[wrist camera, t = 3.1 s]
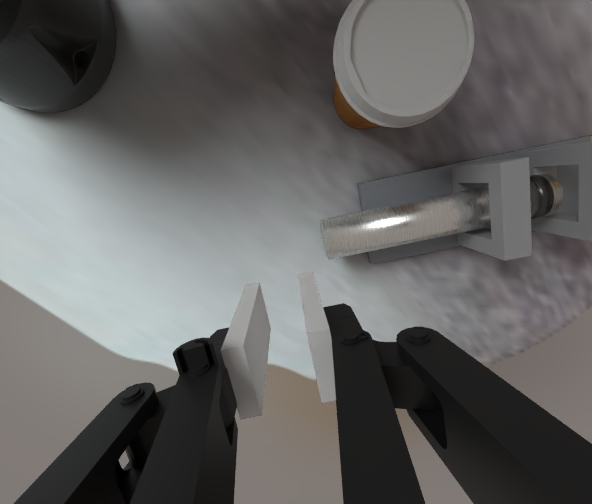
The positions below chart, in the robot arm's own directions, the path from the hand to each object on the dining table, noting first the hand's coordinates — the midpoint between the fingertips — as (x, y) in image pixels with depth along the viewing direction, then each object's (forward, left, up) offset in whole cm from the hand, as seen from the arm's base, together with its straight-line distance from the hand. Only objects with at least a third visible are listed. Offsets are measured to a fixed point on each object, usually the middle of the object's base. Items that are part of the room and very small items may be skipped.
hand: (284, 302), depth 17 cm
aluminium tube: (+15, 0, -16) cm, 22 cm away
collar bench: (+23, 0, -18) cm, 30 cm away
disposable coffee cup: (+11, +13, -19) cm, 25 cm away
